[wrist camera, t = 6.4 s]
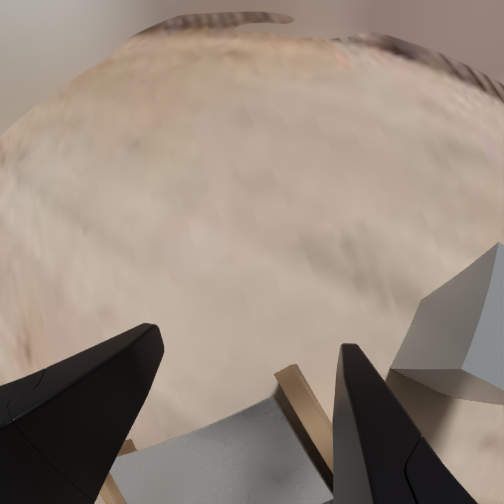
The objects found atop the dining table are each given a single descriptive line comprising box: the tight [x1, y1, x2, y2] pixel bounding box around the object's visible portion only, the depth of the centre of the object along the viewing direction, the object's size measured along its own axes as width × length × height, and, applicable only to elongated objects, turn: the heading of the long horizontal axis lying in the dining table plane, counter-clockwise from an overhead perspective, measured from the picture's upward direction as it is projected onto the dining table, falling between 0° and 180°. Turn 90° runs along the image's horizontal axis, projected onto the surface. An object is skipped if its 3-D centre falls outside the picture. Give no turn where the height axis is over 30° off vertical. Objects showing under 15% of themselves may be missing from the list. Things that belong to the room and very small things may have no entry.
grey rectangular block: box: [390, 242, 504, 405], centre depth 13 cm, size 6×6×11 cm
